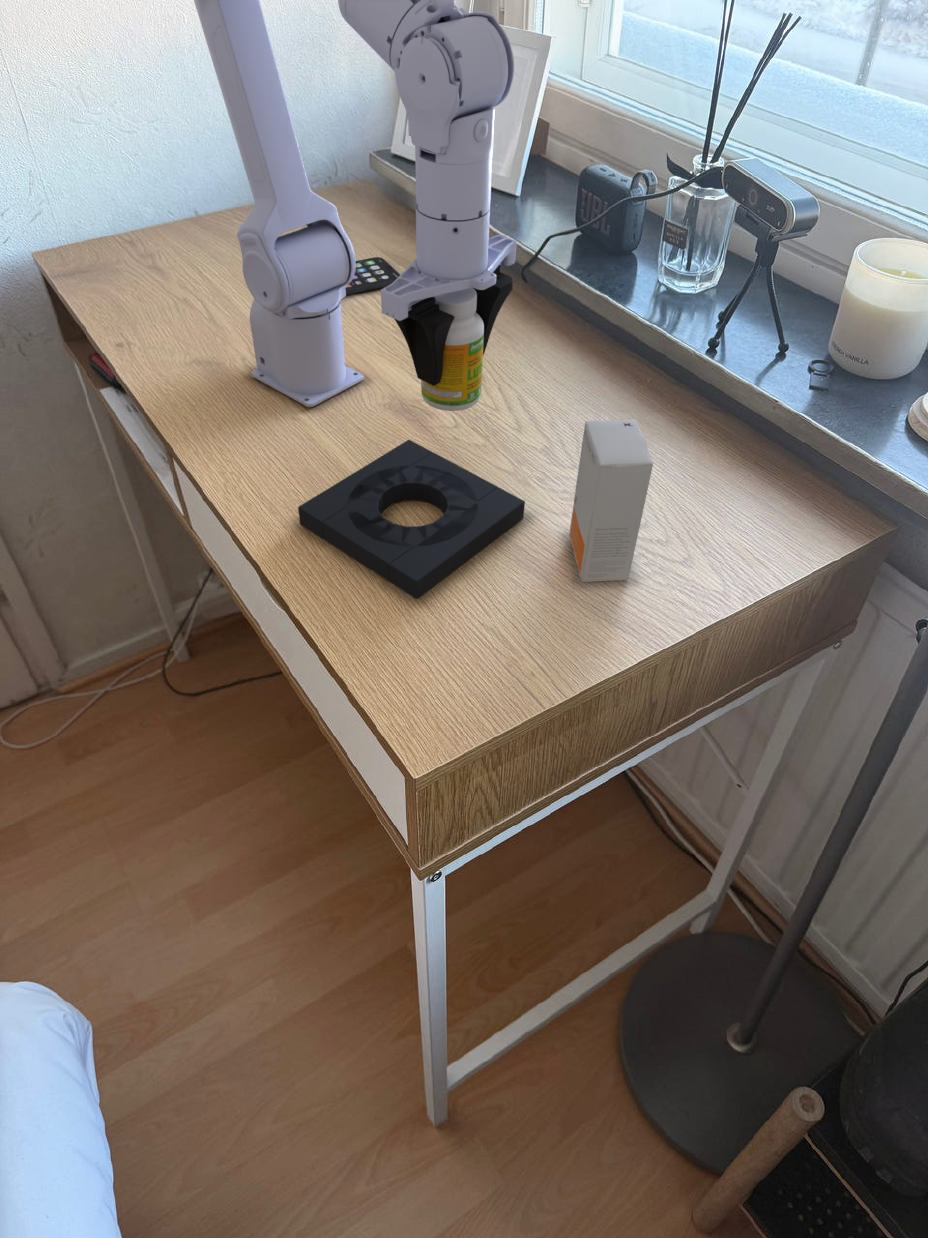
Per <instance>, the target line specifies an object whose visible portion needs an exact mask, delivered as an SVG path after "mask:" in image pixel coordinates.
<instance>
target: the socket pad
mask: <svg viewBox="0 0 928 1238" xmlns="http://www.w3.org/2000/svg"><path fill="white" fill-rule="evenodd" d="M405 501H406V502H407V501H409V502H410V501H420V502H423V503H424V502H425V503H428V504H431V505H433V506H435V507H436V508H439V509H440V510H441V511H442V513H443V515H442V516H441V517H439V518H438V519H437V520H435V521H433V522H431V523H427V524H424V525H418V526H416V525H415V526H414V525H413V526H406V525H402V524H398V523H393V522H392V521H390V520H388V519H387V518H386V517H384V516H383V512H384V511H385V510H386V509H388V508H390V507H391V506H393V505H395V504H398V503H402V502H405ZM525 504H526V501H525V500H524V499H521V498H519V497H518V496H516V495H514V494H512V493H510V492H508V491H507V490H504V489H503V488H501V487H498V486H497V485H496V484H493V483H492V482H491V481H488V480H486V479H484V478H482V477H480V476H479V475H477V474H475V473H473V472H471V471H469V470H468V469H465V468H464V467H462V466H459V465H458V464H456V463H454V462H453V461H450V460H448V459H447V458H445V457H443V456H441V455H439V454H437V453H435V452H433V451H432V450H430V449H428V448H426V447H424V446H422V445H420V444H419V443H417V442H415V441H413V440H411V439H407V440H406V441H404V442H402V443H400V444H399V445H397V446H396V447H394V448H392V449H391V450H389V451H387V452H386V453H385V454H382V455H381V456H379V457H378V458H376V459H374V460H373V461H371V462H370V463H368V464H366V465H364V466H363V467H361V468H360V469H358V470H357V471H354V472H353V473H352V474H350V475H348V476H347V477H345V478H343V479H342V480H340V481H338V482H337V483H335V484H334V485H332V486H330V487H328V488H327V489H325V490H324V491H322V492H320V493H318V494H317V495H315V496H314V497H312V498H310V499H309V500H307V501H305V502H304V503H302V504H301V505H299V506H298V507H297V511H298V516H299V524H300V526H302V527H303V528H305V529H307V531H310V532H311V533H312V534H314V535H316V536H317V537H319V538H320V539H322V540H323V541H325V542H326V543H328V544H330V545H332V546H333V547H335V548H336V549H338V550H339V551H341V552H342V553H344V554H345V555H347V556H349V557H350V558H352V559H353V560H355V561H356V562H358V563H360V564H361V565H363V566H364V567H366V568H367V569H369V570H371V571H372V572H374V573H375V574H376V575H378V576H380V577H382V578H383V579H384V580H386V581H388V582H390V583H391V584H393V586H396V587H397V588H399V589H400V590H402V591H403V592H404V593H406V594H408V595H409V596H411V597H412V598H414V599H416V600H418V599H420V598H421V597H422V596H424V595H425V594H426V593H427V592H429V591H430V590H431V589H433V588H434V587H435V586H437V585H438V584H440V583H441V582H442V581H444V579H446V578H447V577H448V576H450V575H451V574H453V573H454V572H455V571H456V570H458V569H459V568H460V567H462V566H463V565H464V564H465V563H467V562H468V561H469V560H471V559H472V558H474V557H475V556H476V555H477V554H479V553H480V552H481V551H483V550H484V549H485V548H487V547H488V546H490V545H491V544H492V543H494V541H496V540H497V539H498V538H500V537H501V536H502V535H504V534H505V533H506V532H508V531H509V530H510V529H512V528H513V527H515V525H517V524H519V522H521V521H522V520H523V519H524V517H525Z"/></svg>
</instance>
